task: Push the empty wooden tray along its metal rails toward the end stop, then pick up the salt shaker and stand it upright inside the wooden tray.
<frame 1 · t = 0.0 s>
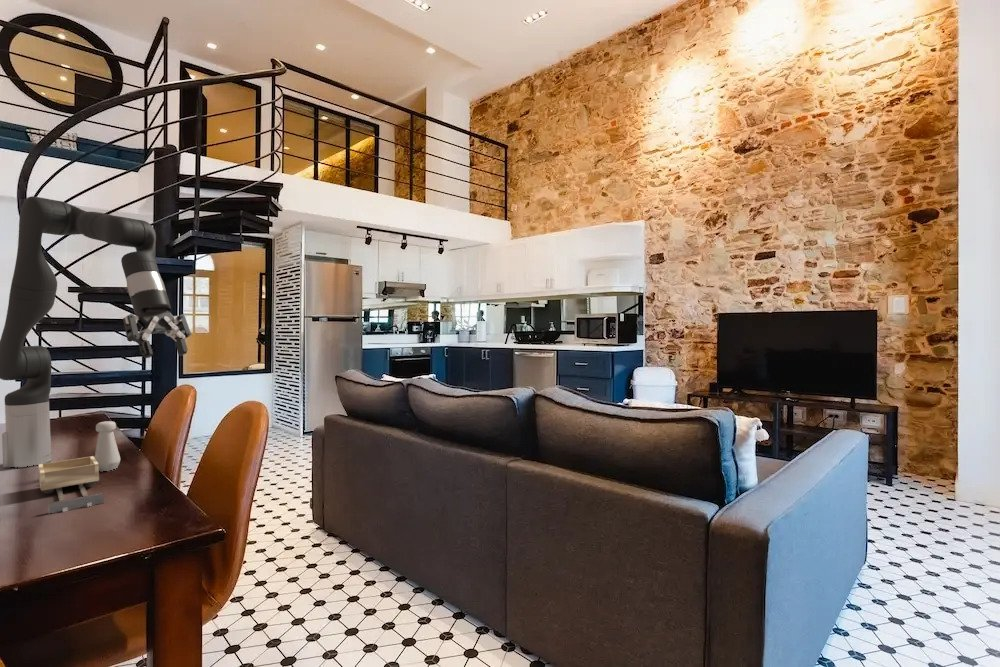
hand: (166, 355, 124), 31 cm above the table, tool tilted 20°, fingers open, 8 cm apart
rail: (71, 493, 119), on the table
wooden tray: (68, 475, 123), point 3 cm above the table, slide at 0.0 cm
salt shaker: (107, 470, 138), on the table
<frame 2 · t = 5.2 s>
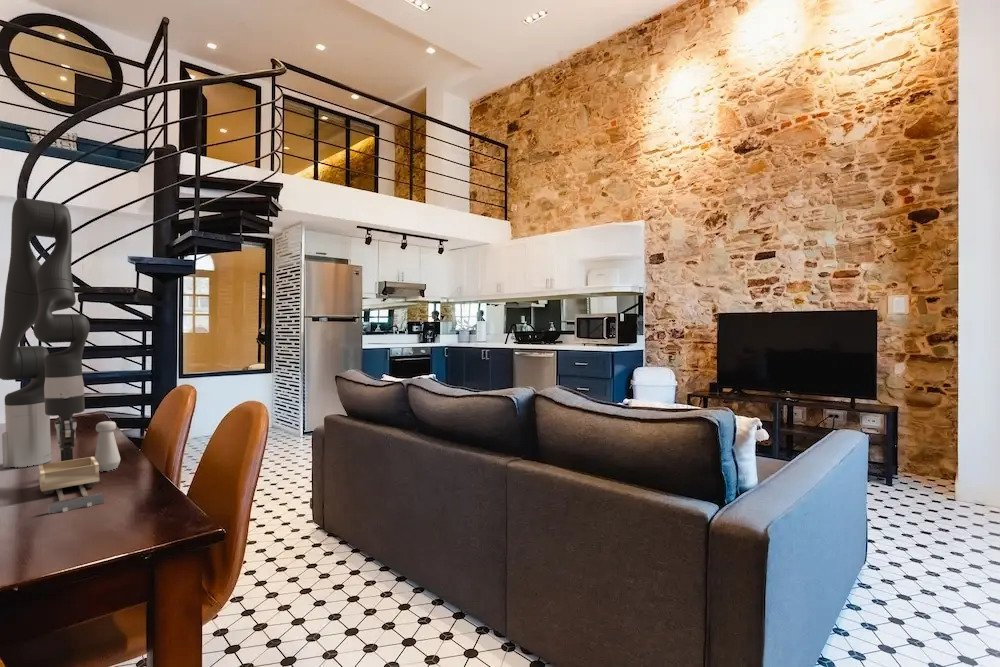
hand: (67, 463, 128), 5 cm above the table, tool pointing down, fingers closed
wooden tray: (69, 475, 123), point 3 cm above the table, slide at 0.7 cm, touching gripper
everything else where it was.
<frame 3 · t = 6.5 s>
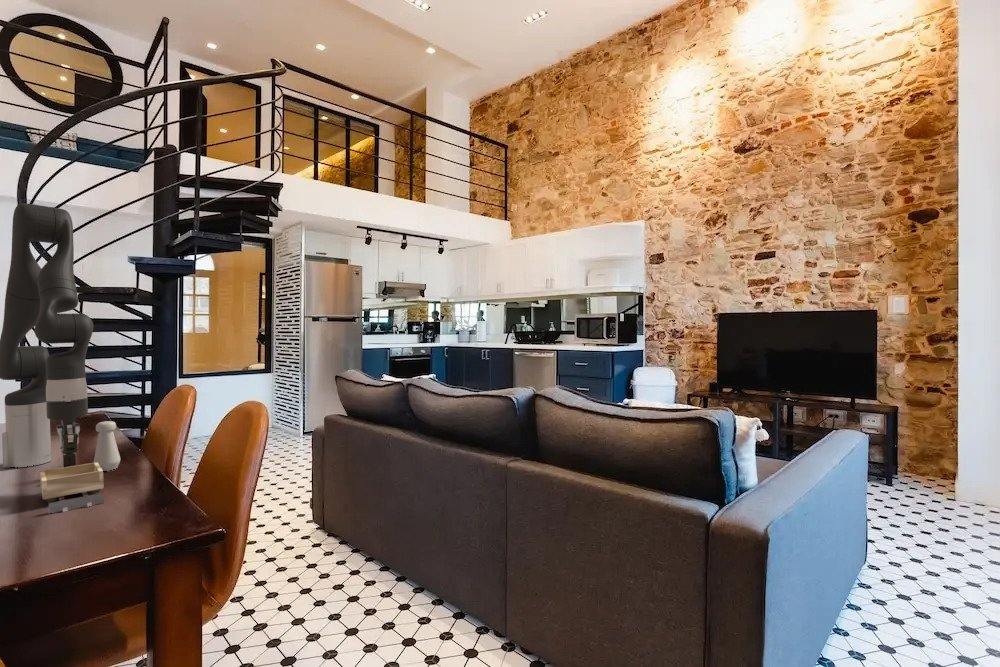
hand: (69, 469, 122), 5 cm above the table, tool pointing down, fingers closed
wooden tray: (71, 482, 118), point 3 cm above the table, slide at 8.1 cm, touching gripper
everything else where it was.
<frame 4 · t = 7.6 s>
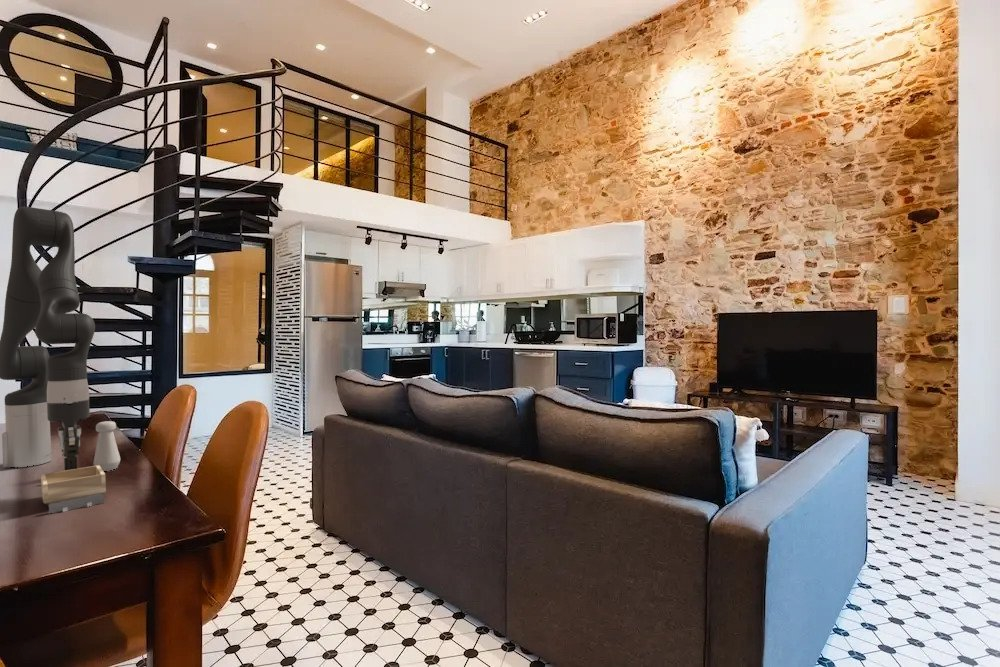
hand: (71, 472, 120), 5 cm above the table, tool pointing down, fingers closed
wooden tray: (73, 486, 115), point 3 cm above the table, slide at 11.7 cm, touching gripper
everything else where it was.
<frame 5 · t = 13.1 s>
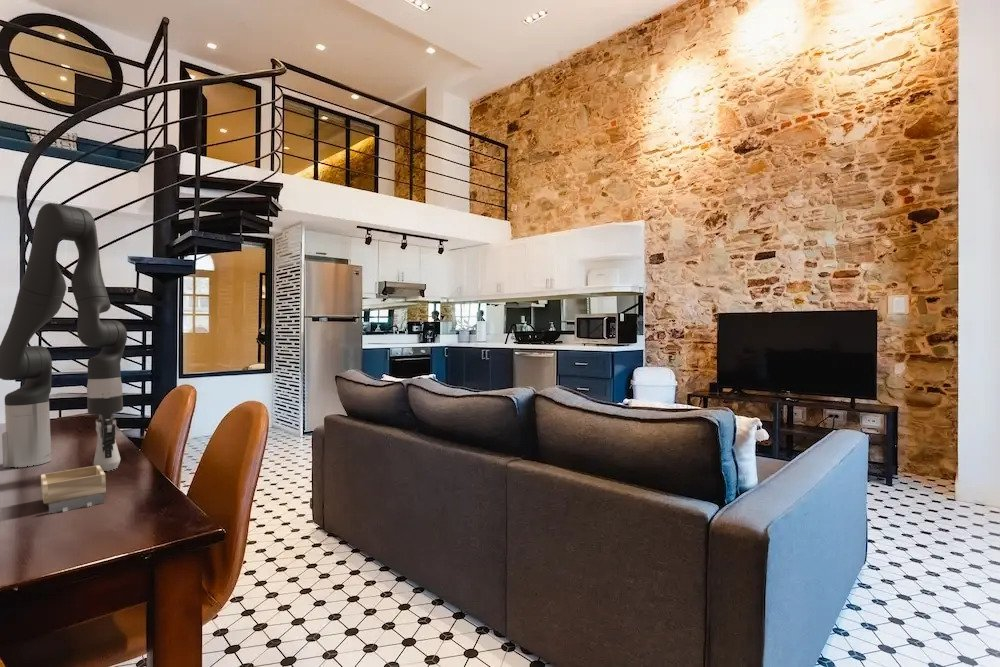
hand: (107, 458, 138), 3 cm above the table, tool pointing down, fingers closed on salt shaker, 3 cm apart
wooden tray: (73, 486, 115), point 3 cm above the table, slide at 11.8 cm
salt shaker: (107, 470, 138), on the table, touching gripper
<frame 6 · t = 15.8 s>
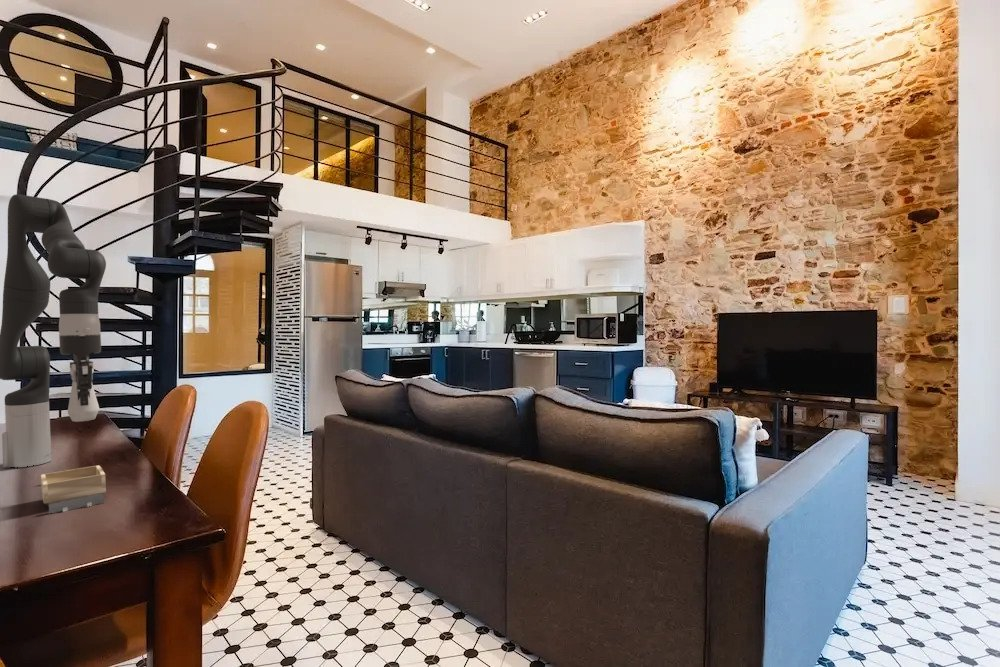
hand: (83, 406, 121), 20 cm above the table, tool pointing down, fingers closed on salt shaker, 3 cm apart
salt shaker: (84, 420, 121), point 17 cm above the table, touching gripper
everything else where it was.
when the fingers open (7 cm above the table, at t = 18.8 s): salt shaker drops 1 cm, resting on wooden tray.
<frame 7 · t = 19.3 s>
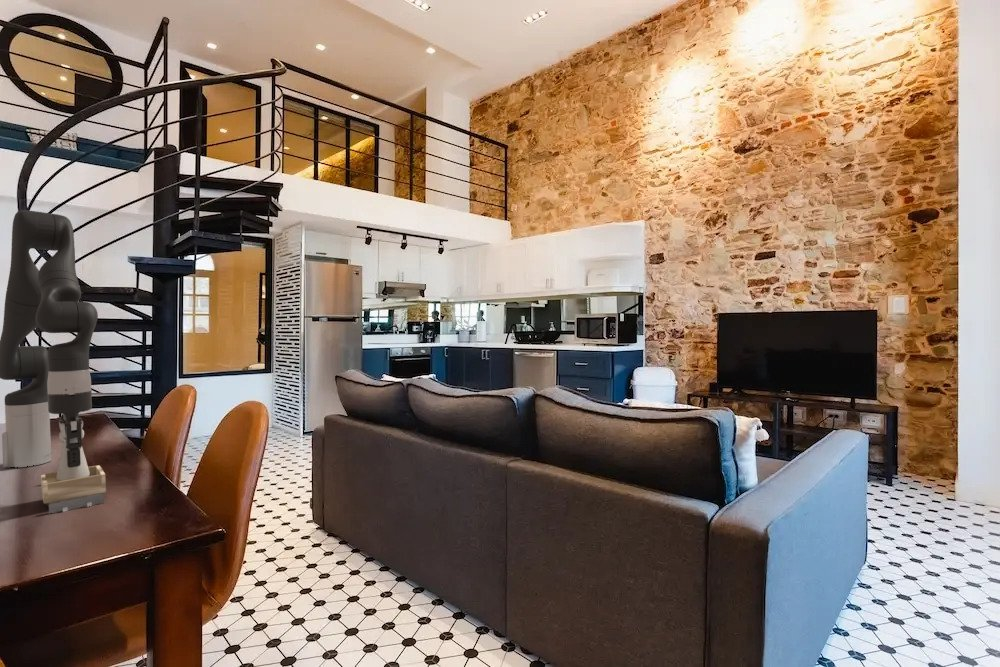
hand: (72, 463, 115), 8 cm above the table, tool pointing down, fingers open, 7 cm apart
wooden tray: (73, 486, 115), point 3 cm above the table, slide at 11.8 cm, touching salt shaker
salt shaker: (73, 487, 116), point 3 cm above the table, touching wooden tray
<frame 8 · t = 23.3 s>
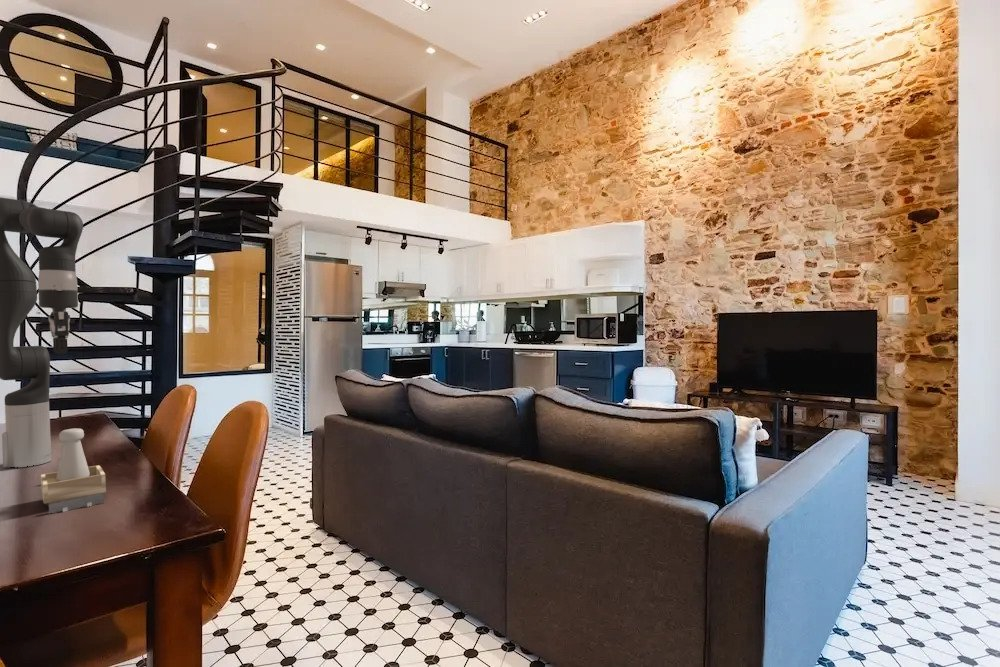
hand: (60, 352, 130), 32 cm above the table, tool pointing down, fingers open, 8 cm apart
nothing on the table moved.
at the end: wooden tray slide at 11.8 cm; salt shaker touching wooden tray; salt shaker tilted 0° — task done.
